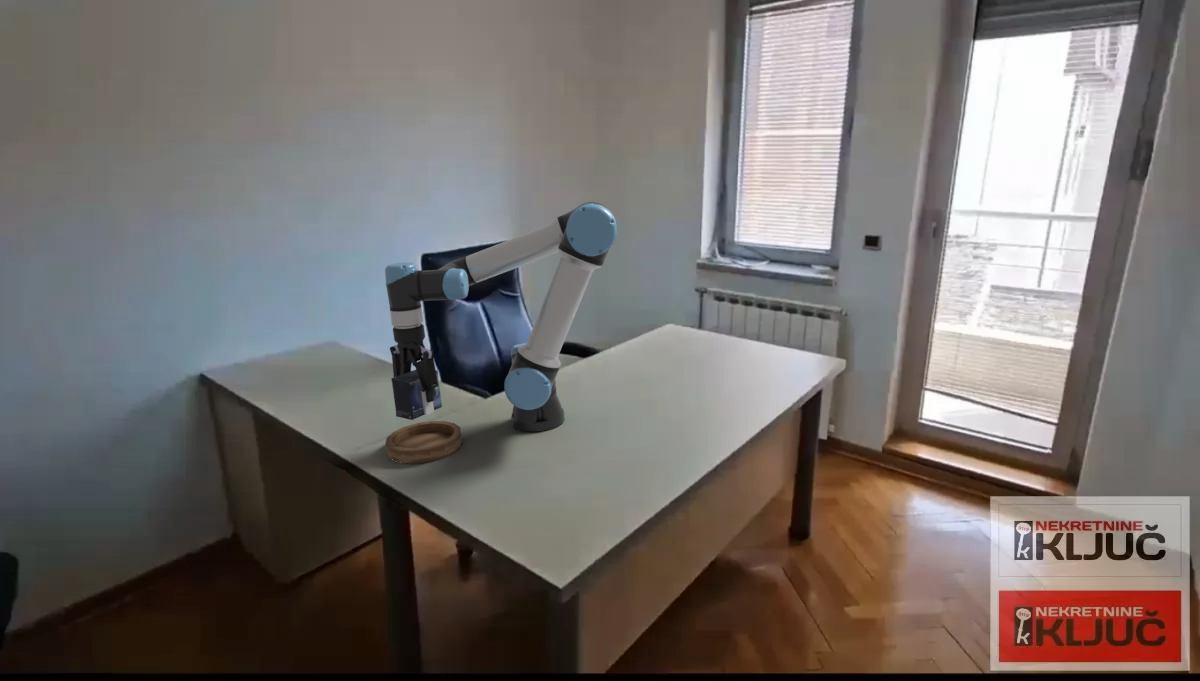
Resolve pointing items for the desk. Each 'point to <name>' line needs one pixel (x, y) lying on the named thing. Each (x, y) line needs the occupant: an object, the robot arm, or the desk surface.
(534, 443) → the desk surface
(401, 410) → the small box
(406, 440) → the tray
